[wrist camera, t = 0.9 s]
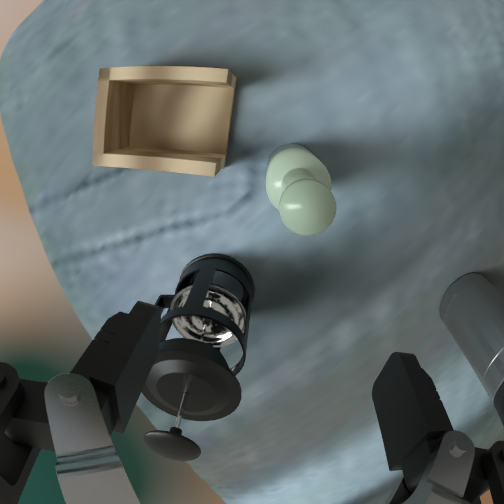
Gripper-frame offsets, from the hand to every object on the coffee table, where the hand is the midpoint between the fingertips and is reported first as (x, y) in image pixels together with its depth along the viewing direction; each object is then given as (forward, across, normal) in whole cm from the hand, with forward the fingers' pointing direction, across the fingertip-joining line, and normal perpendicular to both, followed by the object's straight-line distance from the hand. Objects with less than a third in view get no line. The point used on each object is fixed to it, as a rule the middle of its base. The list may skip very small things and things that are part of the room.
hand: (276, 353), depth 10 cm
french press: (+26, +5, +14) cm, 30 cm away
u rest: (+26, +12, -5) cm, 29 cm away
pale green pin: (+26, -1, -2) cm, 26 cm away
